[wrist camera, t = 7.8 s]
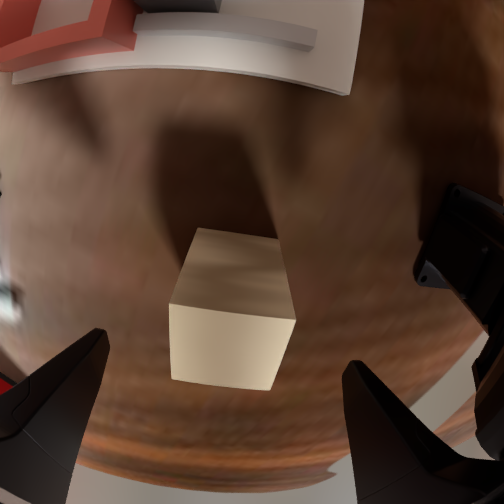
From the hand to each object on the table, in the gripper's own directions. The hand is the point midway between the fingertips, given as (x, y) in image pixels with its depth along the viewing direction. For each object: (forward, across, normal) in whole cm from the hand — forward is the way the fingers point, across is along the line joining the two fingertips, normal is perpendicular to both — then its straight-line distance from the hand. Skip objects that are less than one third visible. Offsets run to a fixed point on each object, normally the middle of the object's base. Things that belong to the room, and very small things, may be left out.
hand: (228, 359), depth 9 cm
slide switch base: (+6, +5, -14) cm, 16 cm away
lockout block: (+6, 0, 0) cm, 6 cm away
